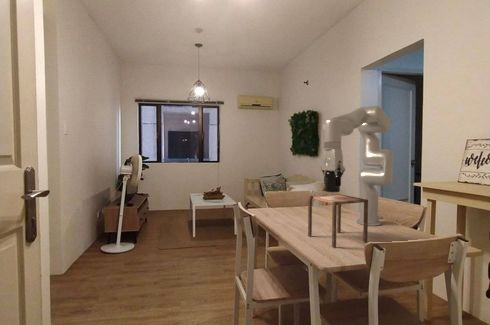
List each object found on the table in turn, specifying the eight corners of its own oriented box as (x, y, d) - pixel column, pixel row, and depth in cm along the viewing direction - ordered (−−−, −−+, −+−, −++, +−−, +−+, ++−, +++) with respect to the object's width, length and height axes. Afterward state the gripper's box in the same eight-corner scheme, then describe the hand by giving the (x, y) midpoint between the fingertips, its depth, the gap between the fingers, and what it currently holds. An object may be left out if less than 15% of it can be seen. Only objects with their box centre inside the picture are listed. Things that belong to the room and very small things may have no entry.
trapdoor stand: (338, 232, 150) (339, 194, 149) (367, 242, 133) (368, 199, 132) (308, 236, 143) (308, 196, 142) (333, 247, 126) (334, 202, 125)
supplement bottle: (336, 190, 139) (337, 165, 139) (342, 192, 133) (342, 166, 132) (322, 190, 139) (322, 165, 139) (327, 192, 132) (327, 166, 132)
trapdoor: (339, 196, 147) (339, 194, 147) (361, 201, 133) (361, 198, 133) (313, 198, 141) (313, 196, 141) (334, 203, 127) (334, 201, 127)
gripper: (314, 146, 142) (314, 183, 142) (339, 145, 126) (338, 187, 126) (327, 146, 145) (326, 182, 145) (352, 146, 129) (352, 186, 129)
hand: (332, 184), depth 136 cm, fingers closed on supplement bottle, 6 cm apart
